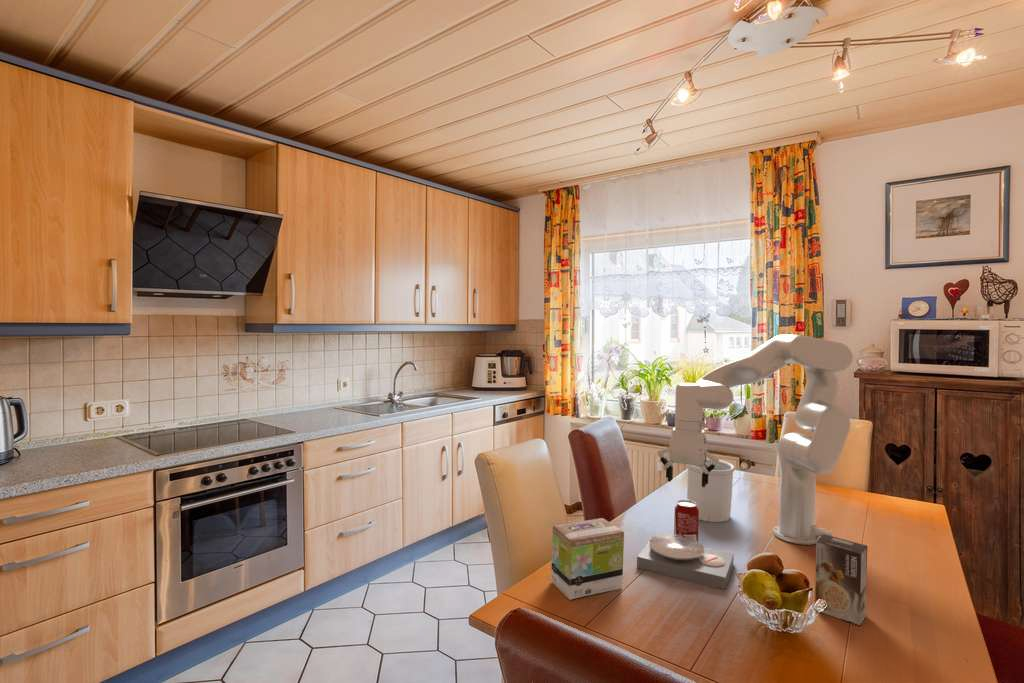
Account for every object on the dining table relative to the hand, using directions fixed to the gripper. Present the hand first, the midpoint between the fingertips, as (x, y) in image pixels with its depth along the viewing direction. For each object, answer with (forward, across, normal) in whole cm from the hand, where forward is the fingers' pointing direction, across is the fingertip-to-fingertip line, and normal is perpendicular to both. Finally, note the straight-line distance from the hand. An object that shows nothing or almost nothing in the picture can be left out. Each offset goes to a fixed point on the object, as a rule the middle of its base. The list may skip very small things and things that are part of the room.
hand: (686, 483), depth 155 cm
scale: (+18, -3, +15) cm, 24 cm away
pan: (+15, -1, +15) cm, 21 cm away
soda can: (+18, 0, 0) cm, 18 cm away
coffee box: (+18, -38, +20) cm, 47 cm away
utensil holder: (+18, -2, -27) cm, 33 cm away
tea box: (+18, +16, +38) cm, 45 cm away
